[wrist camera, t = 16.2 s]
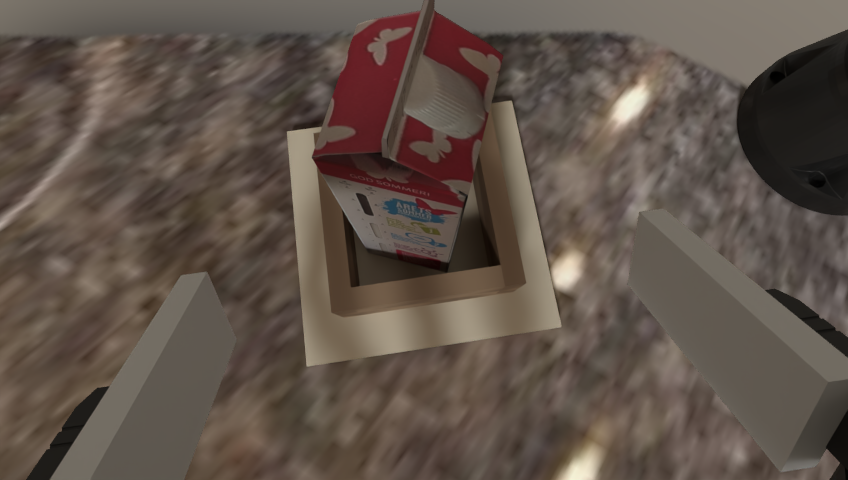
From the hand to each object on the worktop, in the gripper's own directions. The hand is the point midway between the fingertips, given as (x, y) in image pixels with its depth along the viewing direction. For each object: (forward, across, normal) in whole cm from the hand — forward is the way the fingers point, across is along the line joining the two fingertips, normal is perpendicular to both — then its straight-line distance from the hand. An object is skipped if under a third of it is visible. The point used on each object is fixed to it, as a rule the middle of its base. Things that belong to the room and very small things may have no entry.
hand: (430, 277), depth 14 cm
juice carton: (+21, 0, -10) cm, 23 cm away
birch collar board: (+22, 0, -10) cm, 24 cm away
